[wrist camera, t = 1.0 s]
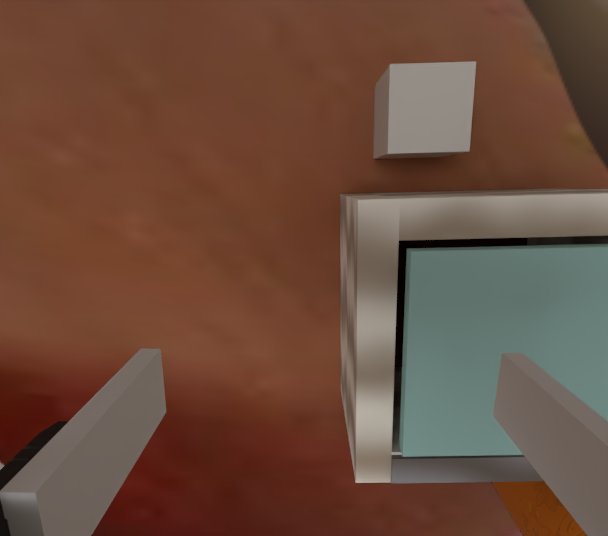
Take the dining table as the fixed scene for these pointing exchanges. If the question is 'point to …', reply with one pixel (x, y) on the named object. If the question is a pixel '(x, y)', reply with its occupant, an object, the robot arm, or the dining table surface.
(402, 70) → the light grey cube
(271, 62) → the dining table surface
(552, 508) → the wine bottle
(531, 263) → the trapdoor
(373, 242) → the crate
